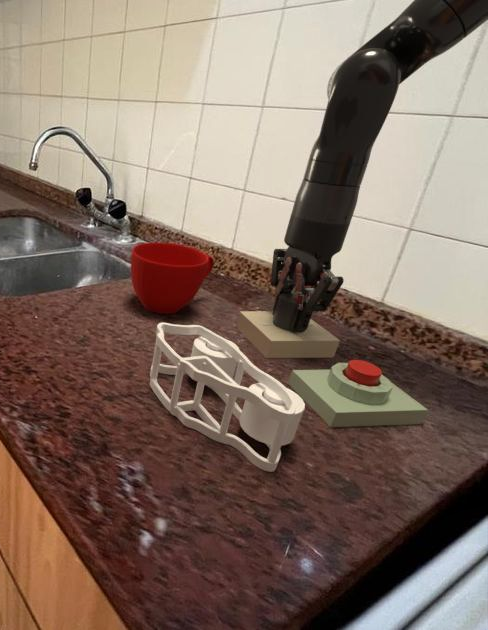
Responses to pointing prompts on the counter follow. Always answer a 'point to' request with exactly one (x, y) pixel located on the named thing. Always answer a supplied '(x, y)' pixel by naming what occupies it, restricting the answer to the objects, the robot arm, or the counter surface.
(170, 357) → the skeletal toy car
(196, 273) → the ceramic cup
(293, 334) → the control panel
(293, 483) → the counter surface
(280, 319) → the dial
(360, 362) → the power button
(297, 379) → the power switch
